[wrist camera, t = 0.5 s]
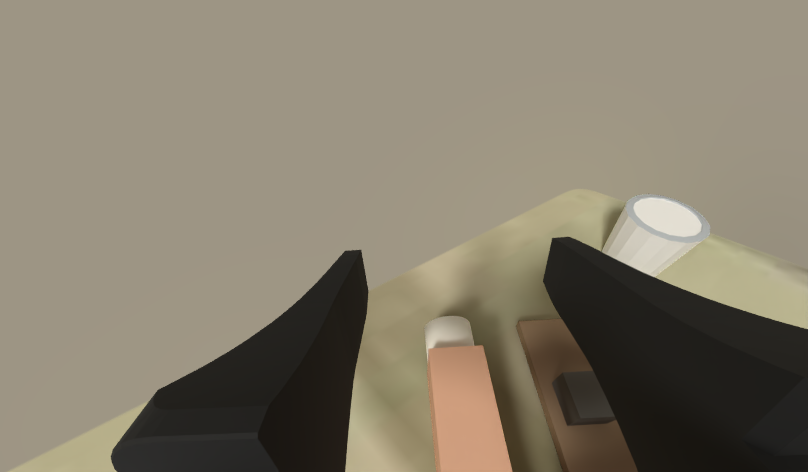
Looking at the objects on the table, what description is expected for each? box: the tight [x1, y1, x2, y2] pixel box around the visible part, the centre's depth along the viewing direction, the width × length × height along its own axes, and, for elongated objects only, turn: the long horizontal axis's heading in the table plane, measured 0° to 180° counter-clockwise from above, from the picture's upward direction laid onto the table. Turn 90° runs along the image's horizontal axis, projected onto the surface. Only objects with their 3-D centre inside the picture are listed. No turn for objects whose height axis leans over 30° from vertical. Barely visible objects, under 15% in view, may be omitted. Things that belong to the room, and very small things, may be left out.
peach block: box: [424, 316, 512, 472], centre depth 20 cm, size 15×4×6 cm, turn 2°
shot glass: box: [602, 194, 710, 277], centre depth 31 cm, size 7×7×7 cm
